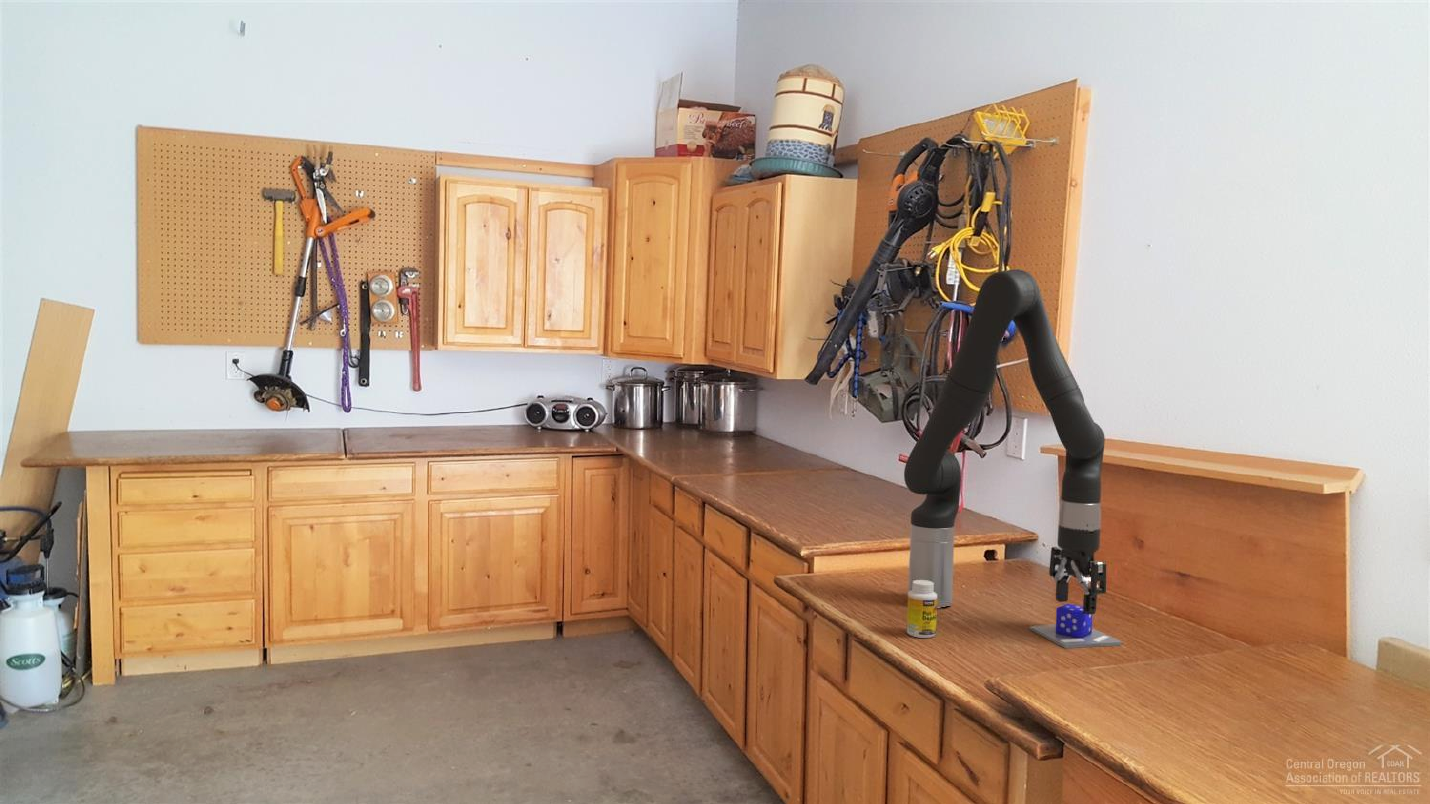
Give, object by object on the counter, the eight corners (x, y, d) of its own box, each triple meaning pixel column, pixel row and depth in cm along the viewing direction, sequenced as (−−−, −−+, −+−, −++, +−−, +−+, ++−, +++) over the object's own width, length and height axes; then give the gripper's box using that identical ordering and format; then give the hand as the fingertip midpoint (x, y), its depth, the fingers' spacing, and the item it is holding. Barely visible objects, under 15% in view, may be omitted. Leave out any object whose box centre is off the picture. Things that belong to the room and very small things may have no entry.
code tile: (1029, 629, 179) (1029, 625, 179) (1082, 626, 181) (1083, 623, 181) (1065, 648, 167) (1065, 644, 167) (1122, 645, 170) (1122, 641, 170)
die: (1066, 628, 178) (1067, 603, 178) (1092, 634, 174) (1093, 608, 174) (1055, 633, 174) (1056, 607, 174) (1081, 639, 171) (1082, 613, 171)
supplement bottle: (921, 640, 170) (923, 587, 170) (900, 633, 175) (901, 580, 174) (942, 636, 173) (944, 583, 173) (920, 629, 178) (922, 577, 177)
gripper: (1040, 517, 180) (1036, 598, 181) (1085, 532, 166) (1081, 619, 167) (1073, 517, 182) (1069, 596, 182) (1121, 531, 168) (1116, 617, 169)
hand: (1075, 607), depth 175 cm, fingers open, 8 cm apart
